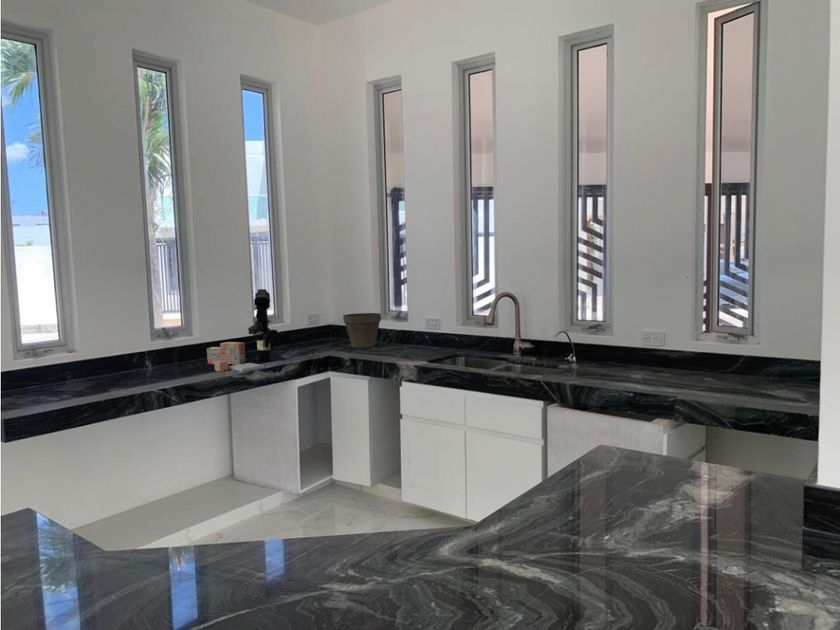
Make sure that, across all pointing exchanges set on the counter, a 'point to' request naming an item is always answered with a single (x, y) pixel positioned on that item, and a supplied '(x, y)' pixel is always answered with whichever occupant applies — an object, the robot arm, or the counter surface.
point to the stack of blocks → (227, 353)
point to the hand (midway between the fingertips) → (263, 347)
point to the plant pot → (362, 328)
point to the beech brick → (262, 345)
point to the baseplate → (246, 367)
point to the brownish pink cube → (221, 365)
